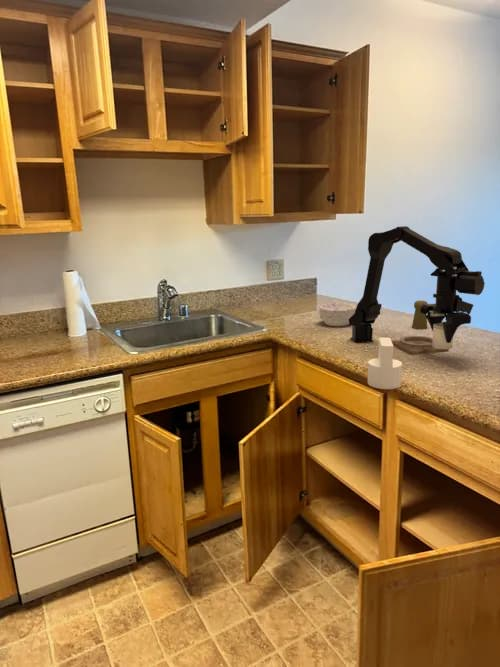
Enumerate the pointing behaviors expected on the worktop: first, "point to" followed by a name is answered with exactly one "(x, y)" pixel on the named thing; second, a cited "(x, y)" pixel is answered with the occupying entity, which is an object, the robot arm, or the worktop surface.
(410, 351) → the collar base
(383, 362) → the cylinder with rectangular tab
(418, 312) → the brown pepper mill
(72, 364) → the worktop surface
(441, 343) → the cap
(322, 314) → the white bowl
